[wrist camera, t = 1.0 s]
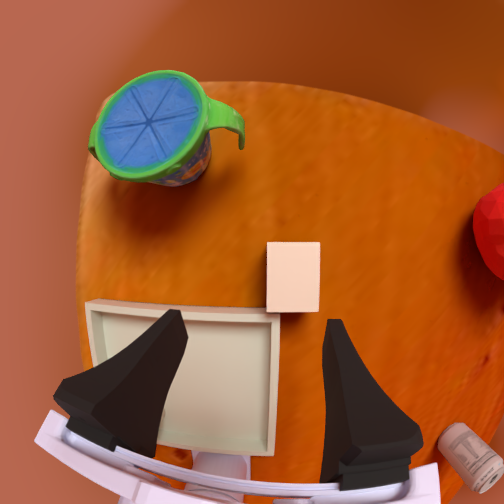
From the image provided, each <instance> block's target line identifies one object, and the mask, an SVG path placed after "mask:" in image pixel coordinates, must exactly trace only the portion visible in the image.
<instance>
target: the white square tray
mask: <svg viewBox="0 0 504 504" xmlns="http://www.w3.org/2000/svg"><path fill="white" fill-rule="evenodd" d="M169 309H176V310H180V311H181V314H182V317H183V321H184V324H185V327H186V330H187V334H188V337H189V338H188V342H187V345H186V349H185V353H184V356H183V358H182V360H181V363H180V365H179V368H178V370H177V372H176V375H175V377H174V379H173V382H172V384H171V386H170V389H169V392H168V394H167V398H166V402H165V405H164V409H165V417H164V419H163V420H162V422H161V424H160V426H159V431H158V437H157V444H160V445H165V446H170V447H176V448H181V449H187V450H194V451H201V452H209V453H219V454H231V455H248V456H274V447H275V431H276V413H277V394H278V370H279V341H280V312H267V308H251V307H212V306H188V305H170V304H155V303H141V302H129V301H118V300H107V299H95V300H92V301H88V302H85V310H86V320H87V328H88V336H89V342H90V349H91V355H92V361H93V366H94V367H95V366H97V365H99V364H101V363H102V362H104V361H106V360H108V359H109V358H111V357H113V356H114V355H116V354H117V353H119V352H120V351H121V350H123V349H124V348H126V347H127V346H128V345H129V344H131V343H132V342H133V341H134V340H135V339H137V338H138V337H139V336H140V335H141V334H143V333H144V332H145V331H146V330H147V329H148V328H149V327H150V326H151V325H153V324H154V323H155V322H156V321H157V320H158V319H159V318H160V317H161V316H162V315H163V314H164V313H165V312H167V311H168V310H169Z"/></svg>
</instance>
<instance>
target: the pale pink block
mask: <svg viewBox="0 0 504 504" xmlns="http://www.w3.org/2000/svg"><path fill="white" fill-rule="evenodd" d="M319 281H320V242H267V312H318V310H319Z"/></svg>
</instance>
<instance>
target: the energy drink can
mask: <svg viewBox="0 0 504 504" xmlns="http://www.w3.org/2000/svg"><path fill="white" fill-rule="evenodd" d="M438 450H439V451H440V452H441V453H442V455H443V456H444V457H445V458H446V460H447V461H448V462H449V463H450V464H451V466H452V467H453V468H454V469H455V471H456V472H457V473H458V474H459V476H460V477H461V478H462V479H463V481H464V482H465V483H466V484H467V486H468V487H469V488H470V489H471V490H472V491H477V492H479V493H480V494H481V493H483V492H485V491H486V490H488V489H489V488H490V487H491V486H493V485H494V484H495V483H496V482H497V481H498V479H499V478H500V477H501V476H502V474H503V473H504V466H503V459H502V458H501V457H499V455H498V454H496V453H495V452H494V451H493V450H492V449H491V448H490V447H489V446H488V445H487V444H486V443H485V442H484V441H483V440H482V439H480V438H479V437H478V436H477V435H476V434H475V433H474V432H473V431H472V430H471V429H470V428H469V427H467V426H466V425H465V424H464V423H454V424H452V425H450V426H449V427H448V428H447V429H445V430H444V432H443V433H442V434H441V435H440V437H439V439H438Z"/></svg>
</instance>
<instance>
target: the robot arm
mask: <svg viewBox="0 0 504 504" xmlns="http://www.w3.org/2000/svg"><path fill="white" fill-rule="evenodd" d="M188 338H189V337H188V334H187V330H186V327H185V324H184V321H183V317H182V314H181V311H180V310H176V309H169V310H168V311H167V312H165V313H164V314H163V315H162V316H161V317H160V318H159V319H158V320H157V321H156V322H155V323H154V324H153V325H151V326H150V327H149V328H148V329H147V330H146V331H145V332H144V333H143V334H141V335H140V336H139V337H138V338H137V339H135V340H134V341H133V342H132V343H131V344H129V345H128V346H127V347H126V348H124V349H123V350H121V351H120V352H119V353H117V354H116V355H114V356H113V357H111V358H109V359H108V360H106V361H104V362H102V363H101V364H99V365H97V366H95V367H93V368H91V369H89V370H87V371H85V372H83V373H80V374H77V375H75V376H72V377H69V378H66V379H63V381H62V382H61V384H60V385H59V387H58V389H57V390H56V392H55V394H54V395H53V397H54V400H55V401H56V402H57V404H58V405H59V406H60V407H61V408H63V409H64V410H65V411H66V412H67V413H68V414H69V415H70V418H69V420H68V419H67V418H65V417H64V416H62V415H60V414H59V413H57V412H55V411H54V410H50V412H49V414H48V416H47V417H46V419H45V421H44V423H43V425H42V427H41V428H40V431H39V432H38V435H37V436H36V438H35V440H34V441H35V443H37V444H38V445H39V446H41V447H42V448H43V449H45V450H46V451H47V452H49V453H50V454H52V455H53V456H54V457H56V458H57V459H59V460H60V461H62V462H63V463H65V464H66V465H68V466H69V467H71V468H72V469H74V470H75V471H77V472H78V473H80V474H82V475H83V476H85V477H87V478H89V479H90V480H92V481H94V482H96V483H97V484H99V485H101V486H103V487H105V488H107V489H109V490H111V491H113V492H115V493H117V494H119V495H121V496H120V499H119V502H118V504H245V503H243V498H244V494H247V495H256V496H267V497H282V498H310V499H275V500H273V504H441V503H440V485H439V474H438V465H437V463H436V462H435V463H431V464H428V465H424V466H420V467H416V468H413V469H410V470H409V466H408V465H409V464H411V457H410V456H412V455H413V454H415V453H416V452H417V451H419V450H420V449H421V448H422V447H423V437H422V433H421V430H420V427H419V425H418V424H417V423H415V422H414V421H413V420H412V419H411V418H409V417H408V416H407V415H406V414H405V413H404V412H403V411H402V410H401V409H400V408H399V407H398V406H397V405H396V404H395V403H394V402H393V401H392V400H391V399H390V398H389V397H388V396H387V395H386V393H385V392H384V391H383V390H382V389H381V387H380V386H379V385H378V384H377V382H376V381H375V379H374V378H373V377H372V375H371V374H370V372H369V371H368V369H367V368H366V366H365V365H364V363H363V361H362V360H361V358H360V356H359V355H358V353H357V351H356V349H355V347H354V345H353V343H352V342H351V340H350V337H349V335H348V333H347V331H346V329H345V326H344V324H343V322H342V320H341V319H328V320H327V326H326V331H325V337H324V342H323V348H322V368H323V378H324V389H325V401H326V423H325V439H324V450H323V460H322V468H321V475H320V482H319V484H292V483H272V482H260V481H251V480H250V456H248V455H231V454H219V453H209V452H201V451H194V450H191V452H192V457H193V463H194V464H193V467H192V469H191V470H190V469H186V468H182V467H178V466H174V465H171V464H167V463H164V462H161V461H158V460H154V459H151V458H153V457H155V451H156V444H157V437H158V431H159V426H160V421H161V417H162V413H163V409H164V405H165V402H166V398H167V394H168V392H169V389H170V386H171V384H172V382H173V379H174V377H175V375H176V372H177V370H178V368H179V365H180V363H181V360H182V358H183V356H184V353H185V349H186V345H187V342H188ZM139 468H141V469H143V470H146V471H149V472H152V473H155V474H158V475H161V476H164V477H167V478H171V479H174V480H178V481H181V482H185V483H186V486H185V488H184V490H179V489H175V488H172V487H171V485H170V484H169V483H167V482H164V481H162V480H160V479H158V478H157V477H156V476H154V475H152V474H149V473H147V472H144V471H142V470H140V469H139Z"/></svg>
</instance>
